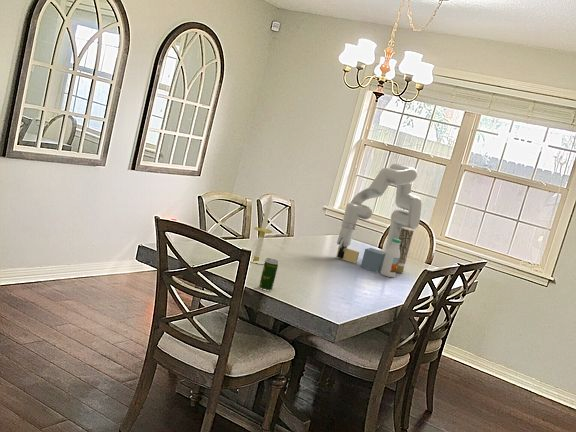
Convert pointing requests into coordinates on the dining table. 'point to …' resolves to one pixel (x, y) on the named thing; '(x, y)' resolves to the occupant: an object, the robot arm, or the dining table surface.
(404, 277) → the dining table surface
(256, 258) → the toy sword
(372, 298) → the dining table surface
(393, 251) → the milk bottle
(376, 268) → the dispenser
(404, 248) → the paper tube
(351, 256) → the tall yellow upright plank
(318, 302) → the dining table surface
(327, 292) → the dining table surface
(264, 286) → the beer can
